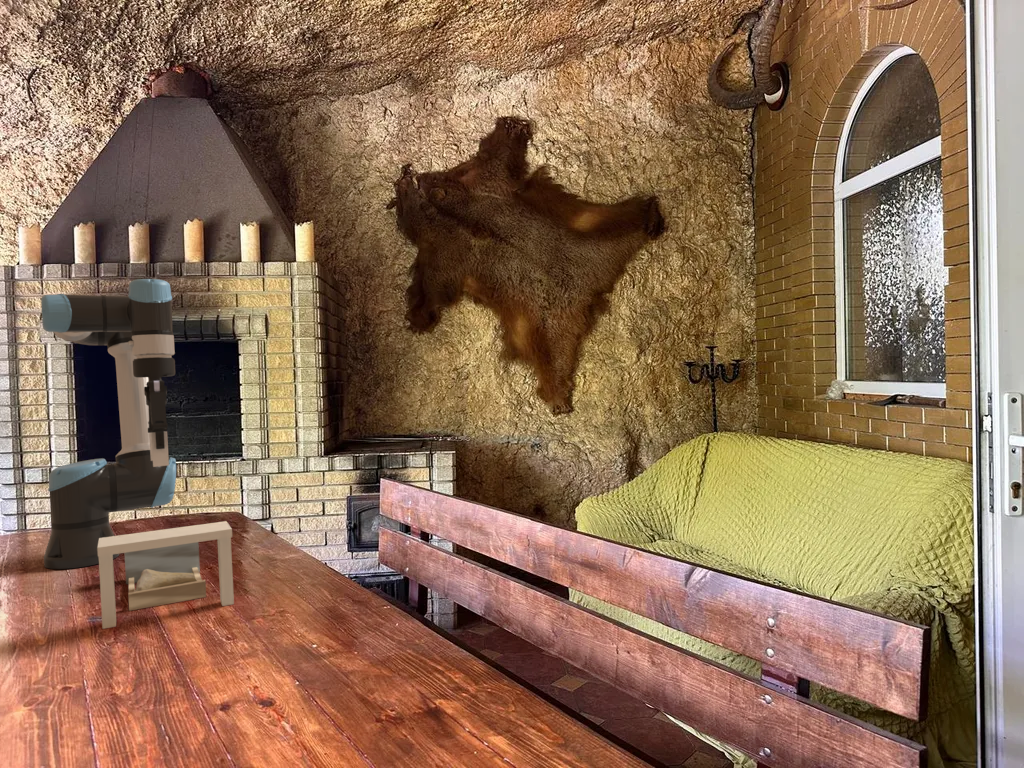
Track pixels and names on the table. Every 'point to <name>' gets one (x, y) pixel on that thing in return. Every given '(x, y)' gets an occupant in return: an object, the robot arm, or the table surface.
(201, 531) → the shelf
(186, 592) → the rock display tray
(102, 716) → the table surface
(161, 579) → the stone
